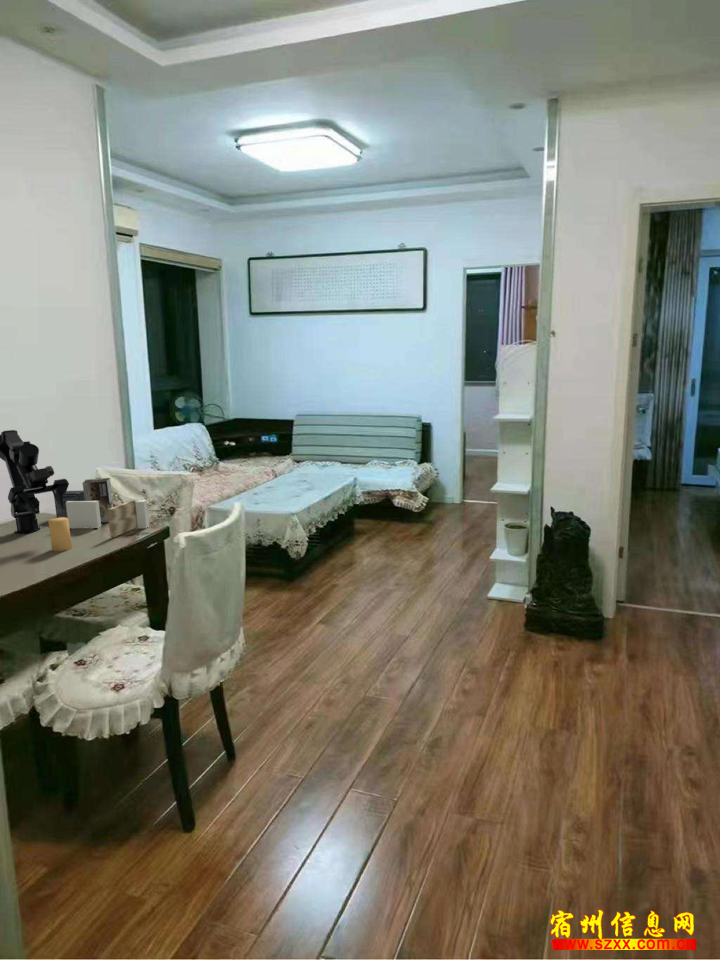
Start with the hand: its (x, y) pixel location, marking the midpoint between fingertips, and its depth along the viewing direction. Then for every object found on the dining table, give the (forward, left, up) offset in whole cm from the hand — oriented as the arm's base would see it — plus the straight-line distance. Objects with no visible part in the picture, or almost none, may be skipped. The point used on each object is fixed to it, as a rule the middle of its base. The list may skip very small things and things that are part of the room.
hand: (48, 510), depth 224 cm
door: (+16, +17, -12) cm, 27 cm away
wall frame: (+6, +23, -12) cm, 27 cm away
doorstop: (+5, -3, -12) cm, 14 cm away
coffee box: (-3, +32, -13) cm, 34 cm away
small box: (-18, +36, -13) cm, 42 cm away
